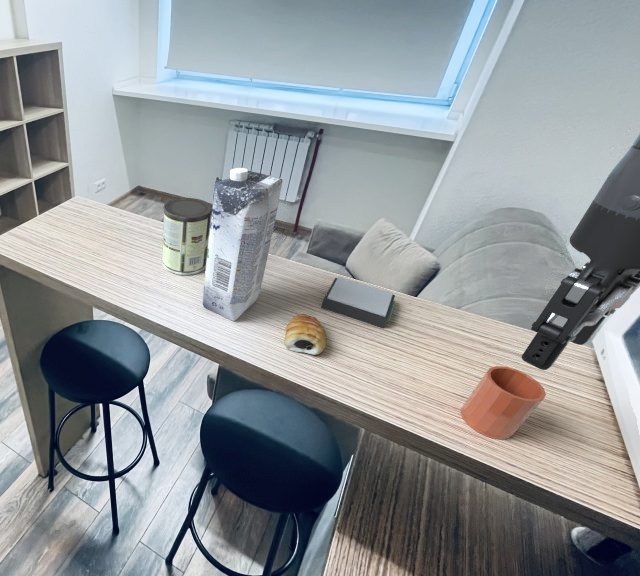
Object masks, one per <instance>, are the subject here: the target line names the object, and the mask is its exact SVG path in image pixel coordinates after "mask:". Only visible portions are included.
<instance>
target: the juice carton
mask: <svg viewBox="0 0 640 576" xmlns="http://www.w3.org/2000/svg"><path fill="white" fill-rule="evenodd" d="M283 182H284V181H283V179H282V178H280V177H277V176H272V175H268V174H265V173H261V172H256V171H252V170H248V168H244V167H235V168H231V169H230V170H229V177H228V178H225V179H221V180H219V181H217V182H216V183H214V187H213V189H214V190H213V199H212V200H213V201H212V213H211V220H210V230H209V239H208V249H207V259H206V267H205V273H204V280H203V281H204V283H203V291H202V292H203V294H202V306H203V308H204V309H207V310H209V311H211V312H213V313H215V314H217V315H219V316H222V317H224V318H225V319H228V320H229V321H232V322H235V321H237V320H238V319H239V318H240V317H241V316H242V315H243V314H244V313H245V312H246V310H248V309H249V308H250V307H252V306H253V305H254V304H255V303H256V301H257V300H258V297H259V295H260V293H261V289H262V286H263V280H264V275H265V271H266V267H267V263H268V262H267V261H268V256H269V252H270V247H271V242H272V237H273V233H274V226H275V223H276V218H277V214H278V208H279V203H280V198H281V197H280V196H281V191H282V187H283V186H282V185H283Z"/></svg>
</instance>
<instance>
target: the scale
mask: <svg viewBox="0 0 640 576" xmlns="http://www.w3.org/2000/svg"><path fill="white" fill-rule="evenodd" d="M395 298H396V295H395V294H394V292H392V291H388V290H385V289H381V288H378V287H376V286H375V287H374V286H371V285H368V284H365V283H361V282H359V281H354V280H351V279H348V278H344V277H340V276H338V277H334V279H333V281H332V283H331V285H330V287H329V289H328V290H327V293H326V294H325V296H324V297H323V300H322V303H321V306H320V308H321V309H324V310H327V311H331V312H332V313H333V312H334V313H336V314H339V315H342V316H345V317H347V318H351V319H354V320H357V321H359V322H363V323H366V324H368V325H369V324H370V325H372V326H375V327H377V328H380V329H384V328H385V326H386V324H387V323H389V322H390V320H391V318H392V315H393V312H394V308H395V305H396V303H397V301H395Z"/></svg>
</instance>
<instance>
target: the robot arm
mask: <svg viewBox="0 0 640 576" xmlns="http://www.w3.org/2000/svg"><path fill="white" fill-rule="evenodd" d="M569 244H570V245H571V247H572V248H573V249H574V250H576V251H577V252H579V253H581V254H584V255H585V256H587V258H588V259H589V260H590V261H587V262H586V263H585V264H583V266H582V267H581V268H578V267H575V268H574V269H573V270H572V271H571V272H570V274H568V275H567V276H566V277H564V278H563V279H562V280H561V281H560V284H559V286H558V287H557V289H556V291H555V292H554V293H553V294H552V296H551V298H550V300H549V301H548V303H547V304H546V305H545V306H544V308H543V310H542V311H541V313H540V314H539V316H538V317H537V319H536V320H535V321H533V322H532V324H531V328H530V331H533V332H535V335H534V336H533V338H532V340H531V341H530V343H529V344H528V345H527V347H526V348H525V350H524V351H523V353H522V354H521V359H522V361H523V362H524V363H527V364H529V365H531V366H533V367H535V368H537V369H539V370H541V371H547V370H549V369H550V368H551V367H553V365H554V364H555V362H556V361H557V359H559V357H560V356H561V354H562V353H563V351H564V350H565V349H566V348H567V346H568V345H569V343H570V342H571V343H573V344H576V345H579V346H582V345H585V344H586V343H587V342H589V340H590V339H591V337H592V336H593V335H594V334H595V332H596V331H597V330H598V328H599V327H600V326H601V324H602V323H603V322H604V321H605V319H606V318H607V317H609V316H611V315H614V314H615V312H616V311H617V310H616V309H620V308H621V307H623V306H624V305H625V304H626V303H627V301H629V300H630V298H631V296H632V295H633V294H634V293H635V292H636V291H637V290H638V289H639V288H640V133H639V134H637V137H636V138H635V140H634V142H633V143H632V145H631V146H630V147H629V149H628V150H627V151H626V153H625V155H623V157H622V158H621V159H620V160H619V161H618V163H616V165H615V166H614V167H613V168H612V170H611V171H610V173H609V174H608V176H607V177H606V179H605V181H604V182H603V184H602V185H601V187H600V189H599V190H598V192H597V193H596V195H595V197H594V198H593V200H592V202H591V203H590V205H589V206H588V208H587V210H586V211H585V213H584V214H583V216H582V218H581V219H580V221H579V222H578V224H577V226H576V227H575V228H574V231H572V233H571V235H570V236H569ZM557 317H561V318H563V319H566V322H565V323H564V324H563V325H562V326H561V325H558V324H556V323H554V321H555V320H556V319H557Z"/></svg>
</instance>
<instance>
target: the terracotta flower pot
mask: <svg viewBox="0 0 640 576" xmlns="http://www.w3.org/2000/svg"><path fill="white" fill-rule="evenodd" d="M546 396H547V393H546V391H545V388H544V386H542V385H541V384H540V383H539V381H538V380H536V379H534V378H533V377H532V376H531V375H529V374H527V373H525V372H523V371H520V370H518V369H515V368H513V367H509V366H502V365H501V366H500V365H495V366H492V367H489V368H488V370H486V372H485V374H484V375H483V377H482V378H481V380H479V382H478V383H477V385H476V386H475V388H474V389H473V391H472V392H471V394H470V395H469V397H468V398H467V399H466V401H465V402H464V403H463V405H462V406H461V408H460V415H461V418H462V420H463V421H464V422H465V424H466V425H467V426H469V427H470V428H471V429H472V430H474V431H475V432H476V433H479V434H480V435H482V436H485V437H487V438H490V439H494V440H508V439H510V438H511V437H512V436H513V435H514V434H515V433H516V432H517V431H518V430H519V428H520V427H521V426H522V425H523V424H524V422H526V420H527V419H529V417H530V416H531V415H532V413H534V411H535V410H536V409H537V408H538V407H539V405H540V404H541V403H542V402H543V401H544V400H545V398H546Z"/></svg>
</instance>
